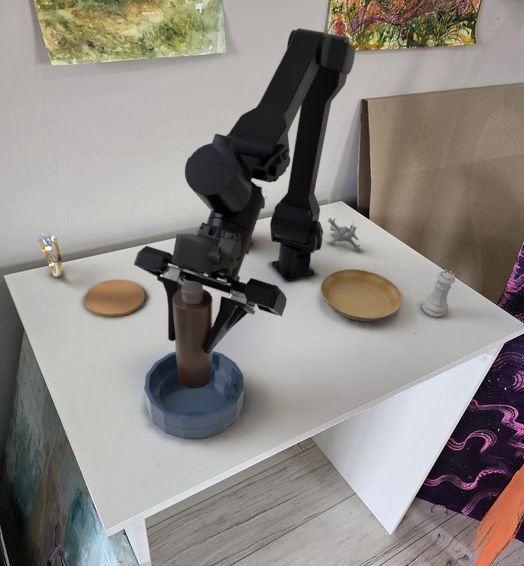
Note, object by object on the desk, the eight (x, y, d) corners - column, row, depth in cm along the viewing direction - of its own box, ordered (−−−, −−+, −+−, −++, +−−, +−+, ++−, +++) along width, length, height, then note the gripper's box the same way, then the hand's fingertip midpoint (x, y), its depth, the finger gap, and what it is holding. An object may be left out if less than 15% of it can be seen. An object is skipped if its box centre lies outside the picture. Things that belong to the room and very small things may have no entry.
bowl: (135, 385, 71) (132, 363, 68) (219, 361, 76) (220, 339, 73) (165, 454, 63) (163, 432, 60) (257, 422, 68) (260, 400, 65)
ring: (70, 282, 88) (61, 243, 83) (51, 286, 87) (41, 247, 81) (59, 263, 92) (50, 224, 87) (41, 267, 91) (31, 228, 86)
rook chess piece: (446, 319, 88) (462, 283, 83) (421, 315, 89) (435, 278, 83) (444, 305, 91) (459, 269, 86) (420, 301, 92) (433, 264, 87)
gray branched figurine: (358, 235, 109) (374, 242, 101) (340, 255, 110) (354, 264, 102) (328, 204, 105) (342, 208, 97) (309, 225, 106) (322, 232, 98)
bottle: (172, 369, 66) (166, 280, 56) (204, 360, 68) (203, 272, 58) (184, 393, 63) (179, 303, 54) (217, 383, 65) (218, 293, 55)
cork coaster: (79, 289, 87) (79, 286, 87) (135, 277, 91) (135, 275, 90) (92, 322, 81) (92, 319, 80) (152, 308, 84) (151, 306, 84)
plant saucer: (380, 340, 83) (384, 328, 81) (303, 307, 88) (305, 296, 86) (409, 298, 92) (413, 287, 90) (339, 271, 97) (341, 260, 96)
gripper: (134, 182, 55) (87, 313, 55) (288, 224, 50) (238, 367, 50) (174, 217, 66) (135, 327, 66) (304, 254, 61) (263, 372, 61)
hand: (188, 346), depth 60 cm, fingers closed on bottle, 4 cm apart
